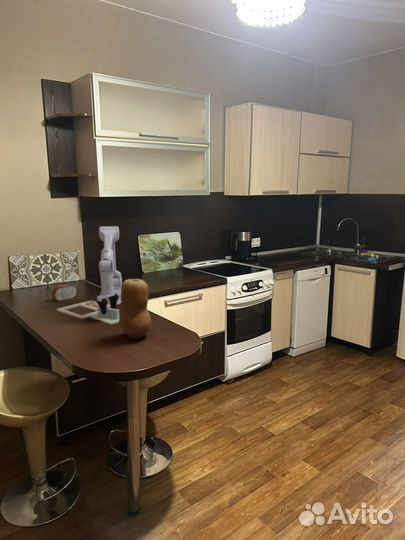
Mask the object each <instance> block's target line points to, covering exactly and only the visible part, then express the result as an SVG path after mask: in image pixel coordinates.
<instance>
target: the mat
mask: <svg viewBox="0 0 405 540" xmlns="http://www.w3.org/2000/svg"><path fill="white" fill-rule="evenodd" d="M90 318H91V319H94V320H98V321H100V322H102V323H105V324H108V325H115V324H118V323H119V319H111V318H103V317H98V314H96V315H93V316H90Z"/></svg>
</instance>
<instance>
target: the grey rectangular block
mask: <svg viewBox="0 0 405 540" xmlns="http://www.w3.org/2000/svg"><path fill="white" fill-rule="evenodd" d="M97 315H98V317H103V318H111V319H119V317H120V309H118V308H117V309H111V308H107V312H106V314H102V313H101V310H100V307H99V308H98V314H97Z"/></svg>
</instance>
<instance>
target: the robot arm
mask: <svg viewBox="0 0 405 540" xmlns="http://www.w3.org/2000/svg"><path fill="white" fill-rule="evenodd" d="M98 234H99V235H98V236H99V238H100V240H101V241H103V248H102V250H101V254H100V261H99V262H98V269H99V275H100V276H99V277H100V283H101V285H100V287H101V292H100V293H99V295H98V296H97V297H96V302H97V304H98V305H99V307H100V310H101V313H102V314H106V312H107V305H110V307H111V309H116V307H117V305H119V304H120V305H121V286H122V284H123V282H122V281H123V278H122V273H121V272H120V271H119V270H117V266H116V264H117V263H116V244H115V243H116V242H117V241H119V239H120V229H119V226H118V225H117V226H100V227H99V228H98Z"/></svg>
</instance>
